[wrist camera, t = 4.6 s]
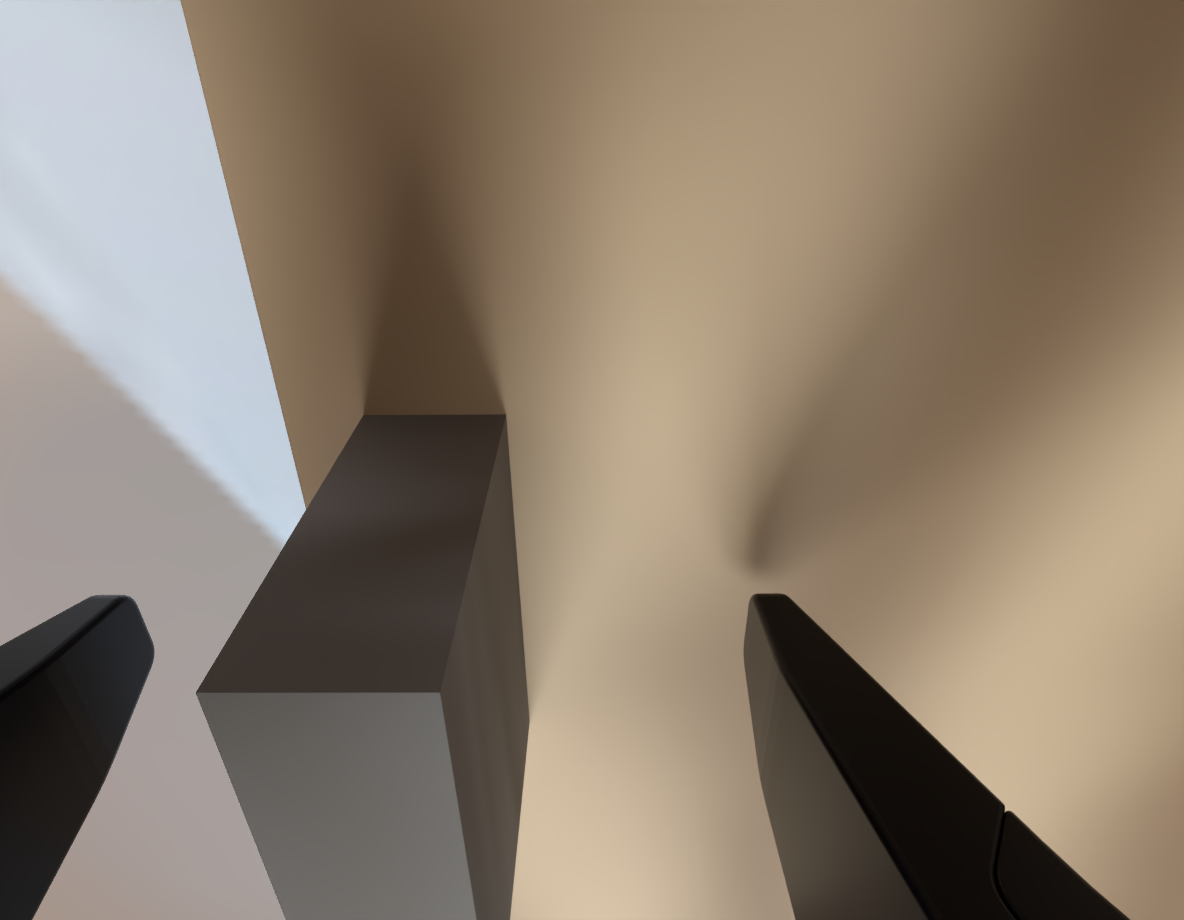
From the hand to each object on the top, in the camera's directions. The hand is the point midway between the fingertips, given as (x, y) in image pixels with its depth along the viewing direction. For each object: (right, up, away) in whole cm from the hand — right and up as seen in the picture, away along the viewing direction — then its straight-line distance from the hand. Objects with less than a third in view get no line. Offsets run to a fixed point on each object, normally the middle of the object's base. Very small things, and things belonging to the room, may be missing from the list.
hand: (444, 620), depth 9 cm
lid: (+6, +1, +1) cm, 6 cm away
